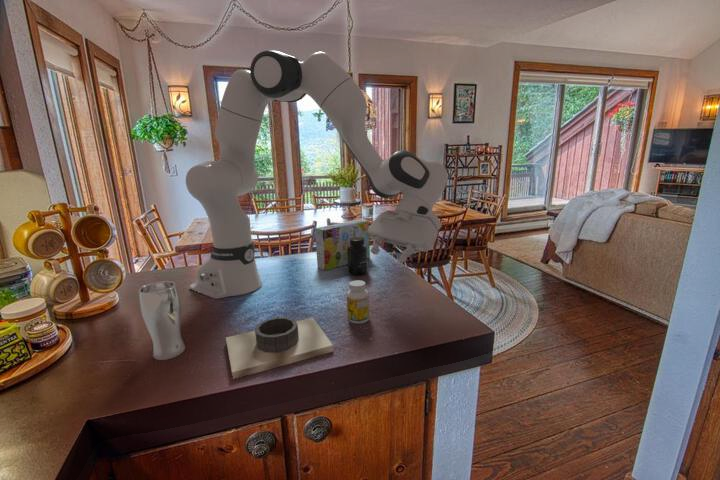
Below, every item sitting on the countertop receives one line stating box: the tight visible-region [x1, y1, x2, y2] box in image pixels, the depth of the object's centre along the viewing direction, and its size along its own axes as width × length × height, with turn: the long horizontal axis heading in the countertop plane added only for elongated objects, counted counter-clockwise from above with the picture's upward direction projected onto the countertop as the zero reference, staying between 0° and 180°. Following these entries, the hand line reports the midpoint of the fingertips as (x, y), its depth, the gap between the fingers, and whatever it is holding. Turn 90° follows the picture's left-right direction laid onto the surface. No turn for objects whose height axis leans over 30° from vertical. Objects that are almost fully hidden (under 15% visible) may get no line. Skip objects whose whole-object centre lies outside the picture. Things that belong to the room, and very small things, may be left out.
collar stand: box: [225, 316, 334, 380], centre depth 74 cm, size 20×14×5 cm
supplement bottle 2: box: [346, 279, 370, 325], centre depth 85 cm, size 5×5×10 cm
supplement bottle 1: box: [347, 237, 368, 276], centre depth 118 cm, size 7×7×12 cm
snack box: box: [314, 218, 371, 272], centre depth 128 cm, size 21×6×15 cm, turn 130°
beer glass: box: [138, 280, 186, 361], centre depth 72 cm, size 7×7×15 cm
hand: (386, 256), depth 89 cm, fingers open, 8 cm apart
